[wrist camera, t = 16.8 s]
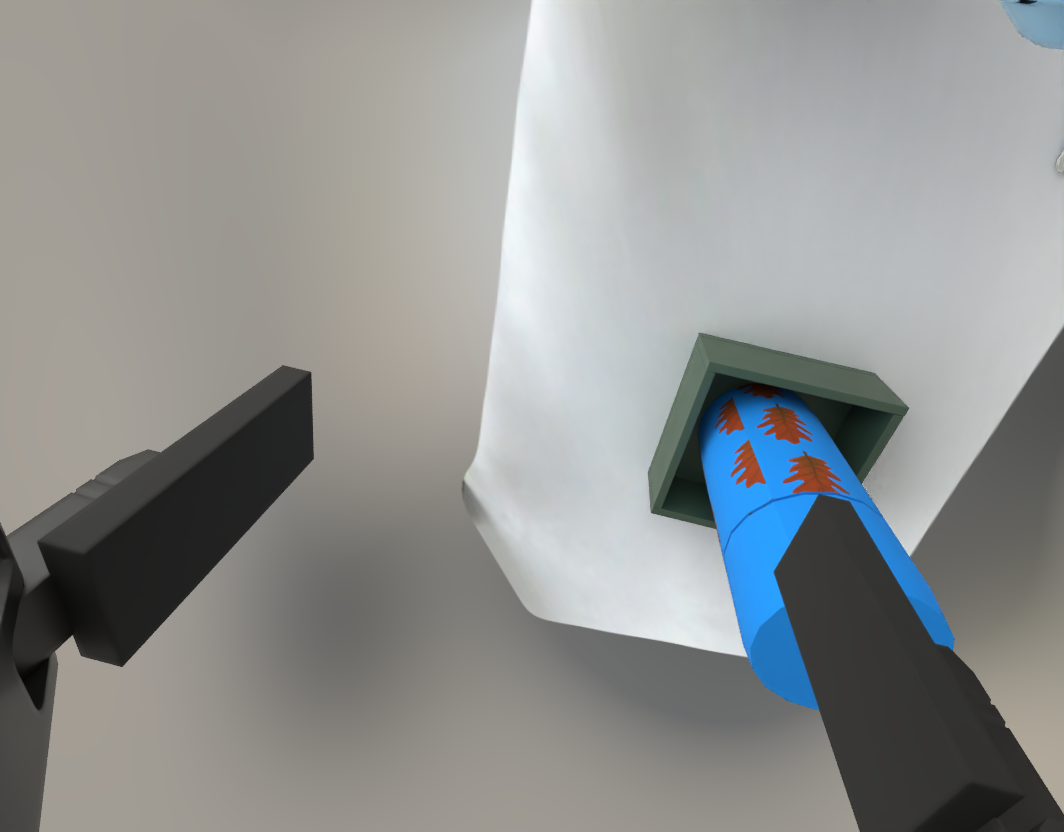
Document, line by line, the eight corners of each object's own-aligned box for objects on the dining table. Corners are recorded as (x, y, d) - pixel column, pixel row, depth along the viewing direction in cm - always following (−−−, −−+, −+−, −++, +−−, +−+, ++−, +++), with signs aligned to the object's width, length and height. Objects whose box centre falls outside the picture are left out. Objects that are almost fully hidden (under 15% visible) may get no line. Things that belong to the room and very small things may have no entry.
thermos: (792, 484, 54) (905, 728, 32) (685, 468, 55) (725, 694, 33) (830, 389, 49) (998, 604, 27) (711, 372, 49) (780, 568, 28)
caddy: (699, 332, 49) (709, 361, 43) (874, 373, 48) (909, 408, 42) (647, 472, 57) (650, 513, 51) (797, 508, 56) (818, 554, 50)
